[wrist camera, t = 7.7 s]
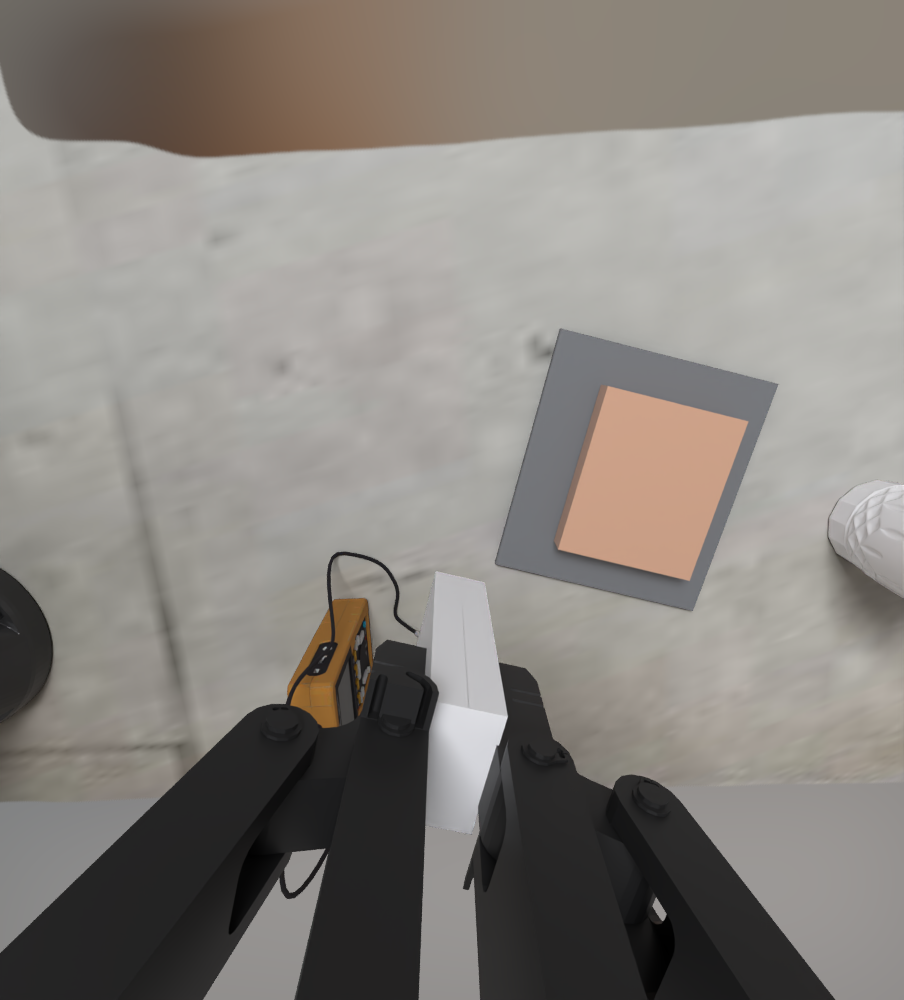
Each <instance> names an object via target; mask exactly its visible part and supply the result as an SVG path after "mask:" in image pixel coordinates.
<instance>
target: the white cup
mask: <svg viewBox="0 0 904 1000" xmlns="http://www.w3.org/2000/svg"><path fill="white" fill-rule="evenodd" d="M828 537H829V539H830V541H831V543H832V545H833V547H834V549H835V552H836V553H837V554H839V555H840V556H842V557H843V558H845V559H846V560H848V561H849V562H851V563H852V564H854V565H855V566H857V567H858V568H860V569H861V570H862V571H863V573H865V574H866V575H868V576H869V577H871V578H872V579H874V580H875V581H876V582H878V583H879V584H881V585H883V586H884V587H886V588H887V589H889V590H890V591H892V592H894V593H895V594H897V595H898V596H900V597H902V598H903V599H904V484H902V483H898V482H891V481H882V480H874V481H871V482H868V483H864V484H861V485H858V486H855V487H854V488H853V489H852V490H850V491H849V492H848V493H847V494H845V495H844V496H843V497H842V498H840V499H839V501H838V502H837V504H836V506H835V508H834V510H833V512H832V513H831V515H830V517H829V530H828Z"/></svg>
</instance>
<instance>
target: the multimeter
mask: <svg viewBox="0 0 904 1000" xmlns="http://www.w3.org/2000/svg"><path fill="white" fill-rule="evenodd" d="M338 555H348V556H355V557H359V558H363V559H366V560H370V561H372V562H374V563H376V564H378V565H380V566H381V567H382V568H383V569H384V570H385V571H386V572H387V573H388V575H389V576H390V578H391V580H392V582H393V584H394V586H395V590H396V600H395V605H394V617H395V619H396V620H397V621H398V622H399V623H400V624H402V625H403V626H404V627H406V628H407V629H408V630H410V631H412V632H413V633H414V634H415V635H416V636H417V637H418V638H419V634H420V632H419V631H416V630H414V629H413V628H411V627H410V626H408V625H407V624H406V623H404V622H403V621H402V620H401V619H400V618H399V617H398V616H397V612H396V611H397V604H398V599H399V589H398V585H397V583H396V581H395V579H394V577H393V575H392V573H391V572H390V571H389V569H388V568H387V567H386V566H385V565H384V564H382V563H381V562H379V561H378V560H376V559H373V558H371V557H368V556H365V555H360V554H356V553H350V552H337V553H336V554H334V555H333V556H332V557H331V559H330V562H329V564H328V571H327V590H328V602H329V609H328V611H327V613H326V615H325V617H324V619H323V620H322V622H321V624H320V626H319V628H318V630H317V631H316V633H315V635H314V637H313V639H312V641H311V643H310V645H309V647H308V648H307V650H306V652H305V654H304V656H303V658H302V660H301V662H300V664H299V666H298V667H297V669H296V671H295V673H294V675H293V677H292V679H291V681H290V683H289V685H288V690H287V695H288V698H287V701H286V704H287V705H291V706H295V707H299V708H301V709H303V710H305V711H307V712H308V713H310V714H311V715H312V716H313V718H314V719H315V720H316V721H317V724H318V728H330V727H338V726H342V725H345V724H348V723H350V722H351V721H353V720H355V719H356V718H357V717H358V716H359V715H360V713H361V711H362V708H363V703H364V699H365V695H366V691H367V687H368V682H369V678H370V674H371V670H372V666H373V658H372V647H371V637H370V626H369V615H368V602H367V600H366V599H365V598H359V599H335V600H334V601H333V602H332V595H331V576H330V574H331V565H332V562H333V560H334V559H335V558H336V557H337V556H338ZM328 852H329V848H326V849H325V851H324V853H323V855H322V856H321V858H320V860H319V862H318V864H317V865H316V867H315V868H314V870H313V871H312V873H311V874H310V876H309V877H308V879H307V880H306V881H305V882H304V884H303V885H302V886H301V887H300V888H299V889H298V890H297V891H295V892H293V893H289V891H288V890H287V888H286V884H285V878H284V870H283V872H282V874H281V875H280V877H279V878H280V885H281V891H282V893H283V894H284V896H285V897H286V898H287V899H291V898H295V897H296V896H297V895H298V894H300V893H301V892H302V891H303V890H304V889H305V888H306V887H307V886H308V884H309V883H310V882H311V880H312V879H313V878H314V876H315V875H316V873H317V871H318V870H319V868H320V867H321V865H322V863H323V861H324V860H325V858H326V856H327V854H328Z"/></svg>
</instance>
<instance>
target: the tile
mask: <svg viewBox="0 0 904 1000" xmlns="http://www.w3.org/2000/svg"><path fill="white" fill-rule="evenodd" d="M748 422H749V421H745V420H741V419H737V418H733V417H729V416H725V415H721V414H717V413H713V412H709V411H705V410H701V409H697V408H693V407H689V406H685V405H681V404H677V403H674V402H670V401H666V400H662V399H658V398H654V397H650V396H646V395H642V394H638V393H634V392H630V391H626V390H622V389H618V388H614V387H610V386H606V385H601V386H600V390H599V393H598V396H597V400H596V403H595V406H594V409H593V413H592V416H591V419H590V423H589V426H588V429H587V433H586V436H585V439H584V443H583V446H582V449H581V452H580V456H579V459H578V462H577V466H576V469H575V472H574V476H573V479H572V482H571V486H570V489H569V492H568V495H567V499H566V502H565V505H564V509H563V512H562V515H561V519H560V522H559V525H558V529H557V532H556V535H555V539H554V542H555V544H556V546H557V548H558V550H562V551H566V552H571V553H575V554H579V555H583V556H587V557H592V558H596V559H600V560H604V561H608V562H612V563H617V564H621V565H625V566H629V567H633V568H638V569H642V570H646V571H650V572H654V573H659V574H663V575H667V576H671V577H675V578H680V579H684V580H688V581H690V578H691V576H692V573H693V570H694V568H695V565H696V562H697V559H698V557H699V554H700V551H701V549H702V546H703V543H704V541H705V538H706V535H707V532H708V530H709V527H710V524H711V522H712V519H713V516H714V514H715V511H716V508H717V505H718V503H719V500H720V497H721V495H722V492H723V489H724V486H725V484H726V481H727V478H728V476H729V473H730V470H731V468H732V465H733V462H734V459H735V457H736V454H737V451H738V449H739V446H740V443H741V441H742V438H743V435H744V432H745V430H746V427H747V424H748Z"/></svg>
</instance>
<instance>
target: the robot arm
mask: <svg viewBox="0 0 904 1000" xmlns="http://www.w3.org/2000/svg"><path fill="white" fill-rule="evenodd" d="M51 658H52V647H51V639H50V634H49V630H48V627H47V624H46V622H45V619H44V617H43V615H42V613H41V611H40V609H39V608H38V606H37V604H36V603H35V601H34V600H33V599H32V597H31V596H30V595H29V594H28V592H27V591H26V590H25V589H24V588H23V587H22V586H21V585H20V584H19V583H18V582H17V581H16V580H15V579H13V578H12V577H11V576H10V575H8V574H7V573H6V572H4V571H3V570H1V569H0V723H1V722H2V721H4V720H6V719H7V718H9V717H10V716H11V715H13V714H14V713H15V712H17V711H18V710H19V709H20V708H22V707H23V706H24V705H25V704H27V703H28V702H29V701H30V700H31V699H32V698H33V697H34V696H35V695H36V694H37V693H38V692H39V690H40V689H41V688H42V686H43V684H44V682H45V680H46V678H47V676H48V673H49V670H50V665H51ZM540 695H541V694H540V691H539V687H538V684H537V681H536V680H535V679H534V678H533V676H532V675H531V674H530V673H529V672H528V671H527V669H526V668H521V667H517V666H512V665H508V664H503V663H499V662H498V657H497V651H496V645H495V639H494V633H493V628H492V622H491V616H490V610H489V604H488V598H487V593H486V587H485V582H481V581H477V580H472V579H468V578H464V577H459V576H455V575H450V574H446V573H442V572H437V571H435V575H434V579H433V583H432V587H431V591H430V595H429V599H428V603H427V607H426V611H425V614H424V618H423V622H422V626H421V630H420V634H419V638H418V642H417V646H414V645H409V644H405V643H400V642H395V641H391V640H386V641H385V642H384V643H383V644H381V645H380V646H379V647H378V648H377V649H376V653H375V657H374V661H373V666H372V670H371V674H370V678H369V682H368V687H367V691H366V695H365V699H364V703H363V708H362V711H361V713H360V715H359V716H358V717H357V718H356V719H355V720H353V721H351V722H350V723H348V724H345V725H342V726H338V727H330V728H318V724H317V721H316V720H315V719H314V718H313V716H312V715H311V714H310V713H308V712H307V711H305V710H303V709H301V708H299V707H295V706H291V705H287V704H270V705H266V706H262V707H258V708H256V709H255V710H253V711H252V712H250V713H249V714H247V715H246V716H245V717H244V718H243V719H242V720H241V721H240V722H239V723H238V724H237V725H236V726H235V727H234V728H233V729H232V730H231V731H230V732H229V733H227V734H226V735H225V736H224V737H223V738H222V739H221V740H220V741H219V742H218V743H217V744H216V745H215V746H214V747H213V748H212V749H211V750H210V751H209V752H208V753H207V754H206V755H205V756H204V757H203V758H202V759H201V760H200V761H199V762H197V763H196V764H195V765H194V766H193V767H192V768H191V769H190V770H189V771H188V772H187V773H186V774H185V775H184V776H183V777H182V778H181V779H180V780H179V781H178V782H177V783H176V784H175V785H174V786H173V787H172V788H171V789H170V790H169V791H167V792H166V793H165V794H164V795H163V796H162V797H161V798H160V799H159V800H158V801H157V802H156V803H155V804H154V805H153V806H152V807H151V808H150V809H149V810H148V811H147V812H146V813H145V814H144V815H143V816H142V817H141V818H140V819H139V820H138V821H137V822H136V823H134V824H133V825H132V826H131V827H130V828H129V829H128V830H127V831H126V832H125V833H124V834H123V835H122V836H121V837H120V838H119V839H118V840H117V841H116V842H115V843H114V844H113V845H112V846H111V847H110V848H109V849H108V850H106V851H105V853H103V854H102V855H101V856H100V857H99V858H98V859H97V860H96V861H95V862H94V863H93V864H92V865H91V866H90V867H89V868H88V869H87V870H86V871H85V872H84V873H83V874H82V875H81V876H80V877H79V878H78V879H76V880H75V881H74V882H73V883H72V884H71V885H70V886H69V887H68V888H67V889H66V890H65V891H64V892H63V893H62V894H61V895H60V896H59V897H58V898H57V899H56V900H55V901H54V902H53V903H52V904H51V905H50V906H49V907H48V908H46V909H45V910H44V911H43V912H42V914H40V915H39V916H38V917H37V918H36V919H35V920H34V921H33V922H32V923H31V924H30V925H29V926H28V927H27V928H26V929H25V930H24V931H23V932H22V933H21V934H20V935H19V936H18V937H17V938H15V939H14V940H13V941H12V942H11V943H10V944H9V945H8V946H7V947H6V948H5V949H4V950H3V951H2V952H1V953H0V1000H203V999H204V997H205V995H206V994H207V992H208V991H209V989H210V987H211V986H212V984H213V983H214V981H215V979H216V978H217V976H218V974H219V973H220V971H221V970H222V968H223V967H224V965H225V963H226V962H227V960H228V958H229V957H230V955H231V954H232V952H233V950H234V949H235V947H236V946H237V944H238V942H239V941H240V939H241V938H242V936H243V934H244V933H245V931H246V929H247V928H248V926H249V924H250V923H251V922H252V920H253V918H254V917H255V915H256V914H257V912H258V910H259V909H260V907H261V906H262V904H263V902H264V901H265V899H266V898H267V896H268V894H269V893H270V891H271V890H272V888H273V886H274V885H275V883H276V882H277V880H278V878H279V877H280V875H281V874H282V872H283V870H284V868H285V867H286V865H287V864H288V862H289V860H290V857H291V854H292V852H296V851H306V850H316V849H324V848H329V852H328V857H327V861H326V865H325V870H324V874H323V878H322V883H321V887H320V891H319V896H318V900H317V904H316V909H315V913H314V917H313V922H312V926H311V930H310V935H309V939H308V943H307V948H306V952H305V956H304V961H303V965H302V969H301V973H300V978H299V982H298V986H297V991H296V995H295V1000H418V998H419V973H420V948H421V922H422V896H423V871H424V844H425V826H430V827H435V828H440V829H445V830H451V831H455V832H461V833H466V834H472V831H473V828H474V825H475V822H476V818H477V815H478V813H479V827H480V832H479V835H478V838H477V842H476V845H475V848H474V851H473V854H472V858H471V861H470V864H469V867H468V871H467V874H466V877H465V881H464V886H463V889H466V890H469V887H470V884H471V881H472V879H473V878H474V887H475V905H476V926H477V946H478V964H479V983H480V1000H835V999H834V998H833V996H832V995H831V994H830V992H829V991H828V990H827V989H826V987H825V986H824V985H823V983H822V982H821V981H820V980H819V978H818V977H817V976H816V974H815V973H814V972H813V971H812V970H811V968H810V967H809V966H808V964H807V963H806V962H805V960H804V959H803V958H802V957H801V955H800V954H799V953H798V951H797V950H796V949H795V948H794V946H793V945H792V944H791V942H790V941H789V940H788V939H787V937H786V936H785V935H784V933H783V932H782V931H781V930H780V929H779V927H778V926H777V925H776V923H775V922H774V921H773V920H772V918H771V917H770V916H769V914H768V913H767V912H766V911H765V909H764V908H763V907H762V905H761V904H760V903H759V901H758V900H757V899H756V898H755V896H754V895H753V894H752V893H751V891H750V890H749V889H748V888H747V886H746V885H745V884H744V882H743V881H742V880H741V878H740V877H739V876H738V875H737V873H736V872H735V871H734V870H733V868H732V867H731V866H730V864H729V863H728V862H727V860H726V859H725V858H724V857H723V855H722V854H721V853H720V852H719V850H718V849H717V848H716V846H715V845H714V844H713V843H712V841H711V840H710V839H709V837H708V836H707V835H706V834H705V832H704V831H703V830H702V828H701V827H700V826H699V825H698V823H697V822H696V821H695V820H694V818H693V817H692V816H691V814H690V813H689V812H688V811H687V809H686V808H685V807H684V806H683V804H682V803H681V802H680V801H679V800H678V799H677V798H676V797H675V795H673V793H672V792H671V791H669V790H668V789H666V788H665V787H663V786H662V785H660V784H659V783H658V782H656V781H654V780H650V779H649V778H646V777H642V776H637V775H626V776H621V777H620V778H619V779H618V780H617V781H616V782H615V785H614V788H613V790H612V789H609V788H607V787H605V786H603V785H600V784H598V783H596V782H593V781H591V780H589V779H587V778H585V777H583V776H581V775H580V774H578V773H577V771H576V768H575V765H574V761H573V759H572V758H571V756H570V754H569V752H568V751H567V750H566V749H565V748H564V747H563V746H562V745H561V744H560V743H558V742H557V741H555V740H553V737H552V734H551V730H550V727H549V723H548V720H547V716H546V712H545V709H544V708H543V702H542V698H541V697H540ZM656 897H657V899H658V900H659V902H660V904H661V905H662V907H663V909H664V910H665V912H666V913H667V915H666V918H665V920H664V921H662V920H661V919H660V918H659V916H658V915H657V913H656V912H655V910H654V909H653V907H652V905H653V903H654V900H655V898H656Z"/></svg>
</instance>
